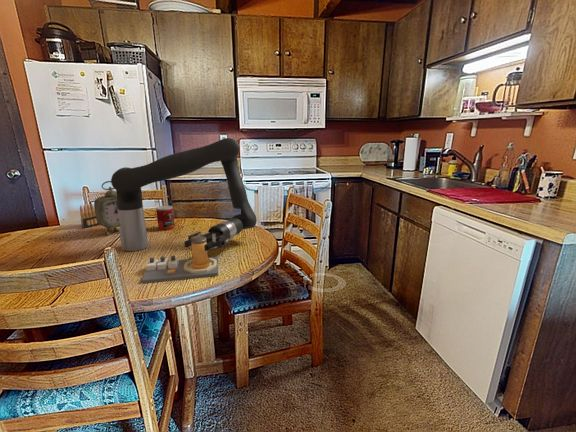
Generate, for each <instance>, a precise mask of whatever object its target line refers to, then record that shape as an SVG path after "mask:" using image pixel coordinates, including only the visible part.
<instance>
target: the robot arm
mask: <svg viewBox="0 0 576 432" xmlns="http://www.w3.org/2000/svg"><path fill="white" fill-rule="evenodd" d="M239 153H240V144H239V142H237V140H235V139H234V138H230V137H226V138H222V139H220V140H217V141H215V142H213V143H210V144H207V145H204V146H200V147H195V148H191V149H188V150H184V151H180V152H176V153H172V154H169V155H165V156H163V157H161V158H158V159H157V160H153V161H152V162H149V163H148V164H144V165H139V166H136V167H121V168H119V169H117V170H116V171H114V173H113V174H112V176H111V179H110V181H111V182H110V184H111V186H112V188H114V189H113V190H115V191H116V194H117V209H118V215H119V221H120V227H118V232H119V237H120V244H121V250H122V251H123V252H124V251H126V252H135V251H136V252H138V251H140V250H145V249H146V248H148V247H149V240H148V234H147V233H148V232H147V226H146V225H147V224H146V219H145V218H146V217H145V213H144V206H143V205H144V204H143V192H142V187H145V186H148V185H150V184H151V185H152V184H154V183H156V182H161V181H166V180H167V181H168V180H170V179H174V178H179V177H182V176H184V175H185V176H186V175H188V174H191V173H194V172H195V171H196V172H197V171H198V170H200V169H202V168H203V167H205V166H207V165H209V164H213V163H217V162H221V163H220V164H221V166H222V168H223V171H224V173H225V177H226V182H227V187H228V191H229V196H230V201H231V205H232V207H233V209H236V210H237V209H238V210H241V212H242V213H239V214H235V215H233V216H232V217H231V218H229V219H227V220H225V221H222V222H219V223H217V224H215V225H213V226H211V227H210V228H209V229H208V230H207V232H204V233H201V231H198V232H194V233H193V234H190V235H188V236H187V238H188V239H187V240H185V241H184V244H183V245H184V247H185V248H189V247H192V244H191V239H192V238H194V237H206V239H207V241H206V243H207V244H205V246H204V248H205V251H207V252H208V251H210V250H212V249H216V248H218V249H221V248H223V247H225V246H226V245H228V244H229V242H230V241H229V240H231V239H233V238H234V237H235V236H237V235H239V234H240V233H241V232H242V231H243V230H248V229H252V228H254V227H256V226H257V221H258V220H257V217H256V214H255V211H254V210H253V208H252V206H251V204H250V202H249V199H248V194H247V191H246V186H245V185H244V182H243V179H242V177H241V173H240V170H239V165H238V164H239V163H238V162H239V161H238V156H239Z"/></svg>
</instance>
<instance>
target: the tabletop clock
mask: <svg viewBox="0 0 576 432" xmlns="http://www.w3.org/2000/svg"><path fill="white" fill-rule="evenodd" d="M107 183H108V184H109V183H111V180H107V181H104V182H103V183H102V184H101V188H102V189H103V190H104V191H106V192H105V194H104V196H99V197H97V198H95V199H94V202H93V203H94V204H93V207H94V210H95V216H96V219H97V221H98V223H99V224H100V225H99V226H102V227H104V228H106V229H107V231H106V232H105V235H106V236H110V234H111V233H110V229H112V230H113V232H115V231H117V230H118V229H117V228H120V221H119V215H118V209H117V194H116V190H115V189H114V188H113V187H111V186H109V187H108V188H105V187H104V185H105V184H107Z"/></svg>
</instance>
